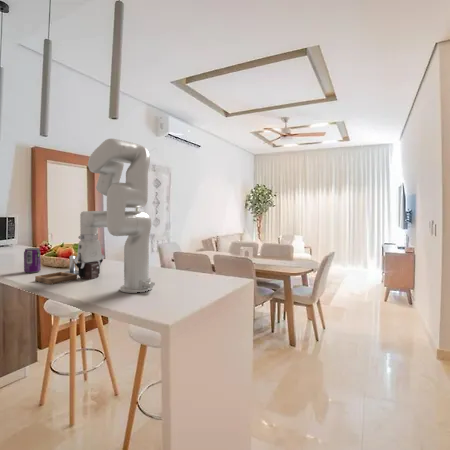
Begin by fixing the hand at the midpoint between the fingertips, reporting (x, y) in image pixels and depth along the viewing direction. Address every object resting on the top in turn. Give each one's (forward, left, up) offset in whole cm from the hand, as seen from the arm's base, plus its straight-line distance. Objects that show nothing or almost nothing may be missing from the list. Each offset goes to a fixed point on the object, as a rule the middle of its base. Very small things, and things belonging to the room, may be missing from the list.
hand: (89, 274), depth 144 cm
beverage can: (+35, +7, -2) cm, 36 cm away
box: (0, 0, -2) cm, 2 cm away
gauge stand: (+14, -1, -1) cm, 14 cm away
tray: (+8, +11, -1) cm, 14 cm away
